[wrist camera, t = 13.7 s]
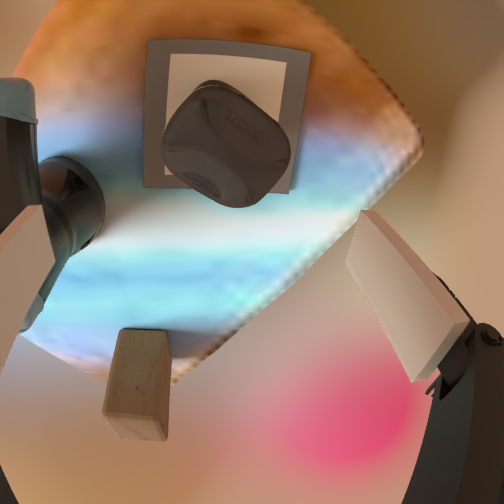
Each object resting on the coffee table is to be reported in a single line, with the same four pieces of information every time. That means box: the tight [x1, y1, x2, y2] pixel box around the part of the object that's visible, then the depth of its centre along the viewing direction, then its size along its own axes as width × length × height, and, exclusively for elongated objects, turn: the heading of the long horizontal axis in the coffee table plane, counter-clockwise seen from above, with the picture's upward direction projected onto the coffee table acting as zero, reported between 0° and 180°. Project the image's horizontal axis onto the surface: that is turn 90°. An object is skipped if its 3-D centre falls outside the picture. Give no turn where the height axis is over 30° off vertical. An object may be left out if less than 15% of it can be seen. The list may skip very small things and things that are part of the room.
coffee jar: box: [161, 80, 291, 208], centre depth 27 cm, size 10×8×19 cm
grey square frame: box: [143, 39, 311, 194], centre depth 35 cm, size 20×20×2 cm
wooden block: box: [102, 329, 172, 441], centre depth 50 cm, size 10×10×20 cm
